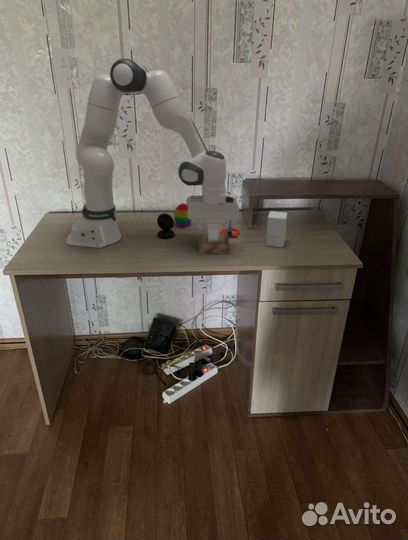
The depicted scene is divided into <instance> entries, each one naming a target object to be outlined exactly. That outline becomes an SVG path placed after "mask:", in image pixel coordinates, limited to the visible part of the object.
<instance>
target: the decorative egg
mask: <svg viewBox="0 0 408 540" xmlns="http://www.w3.org/2000/svg"><path fill="white" fill-rule="evenodd" d="M187 212H188V206H187V204H186V203H180V204H178V206H176V208H175V210H174V213H173V220H174V222H175V223H174V224H176V226H178V227H183V228H184V227H188V226H190V224H191V223H192V220H190V219H188V217H187Z"/></svg>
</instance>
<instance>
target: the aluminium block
mask: <svg viewBox="0 0 408 540" xmlns="http://www.w3.org/2000/svg"><path fill="white" fill-rule="evenodd" d="M219 231H220V230H219V223H215V224H214V223H211V224H209V223H208V224H207V235H208V244H218V235H220V234H219Z"/></svg>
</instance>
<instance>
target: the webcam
mask: <svg viewBox="0 0 408 540" xmlns="http://www.w3.org/2000/svg"><path fill="white" fill-rule="evenodd" d="M156 222H157V225H158V227H159V228H160V230H159V231H158V232H157V237H158V238H160V239H162V240H163V239H164V240H166V239H167V240H168V239H171V238H173V237H175V235H176V233H175V231H174V230H172V229H173V228H174V226H175V223H174V222H175V220H174V217H173V216H171V214H168V213H167V212H166V213H165V212H164V213H160V214H159V215H158V217H157V220H156Z"/></svg>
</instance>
